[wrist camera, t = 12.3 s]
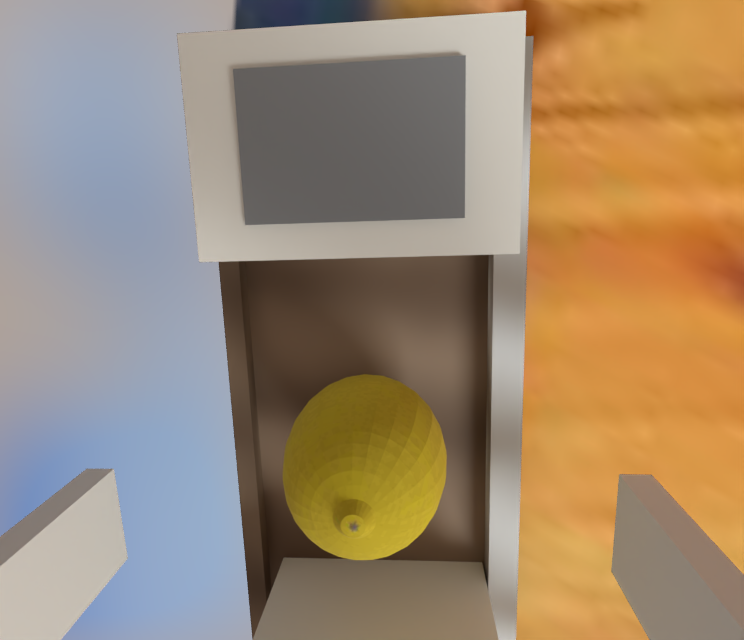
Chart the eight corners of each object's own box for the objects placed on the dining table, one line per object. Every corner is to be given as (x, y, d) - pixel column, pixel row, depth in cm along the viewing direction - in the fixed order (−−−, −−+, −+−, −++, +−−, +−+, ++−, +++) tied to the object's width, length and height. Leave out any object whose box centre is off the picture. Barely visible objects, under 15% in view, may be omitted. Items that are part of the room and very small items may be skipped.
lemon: (424, 485, 21) (433, 636, 14) (301, 459, 22) (238, 593, 14) (452, 365, 20) (479, 454, 12) (321, 339, 20) (266, 410, 13)
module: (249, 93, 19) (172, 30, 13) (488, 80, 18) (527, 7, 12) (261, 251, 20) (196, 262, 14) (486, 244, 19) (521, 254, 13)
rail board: (223, 78, 20) (195, 56, 18) (521, 61, 19) (539, 35, 17) (271, 657, 25) (255, 707, 23) (506, 667, 25) (518, 720, 22)
